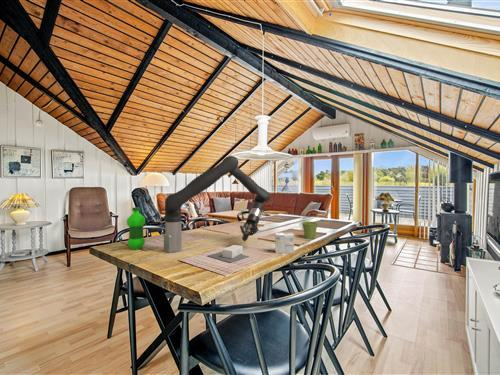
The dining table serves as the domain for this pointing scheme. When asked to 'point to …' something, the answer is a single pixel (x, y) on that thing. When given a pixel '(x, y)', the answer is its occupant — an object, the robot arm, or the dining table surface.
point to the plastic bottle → (136, 229)
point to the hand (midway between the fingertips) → (243, 240)
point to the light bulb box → (284, 243)
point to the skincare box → (232, 251)
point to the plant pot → (309, 229)
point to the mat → (230, 260)
